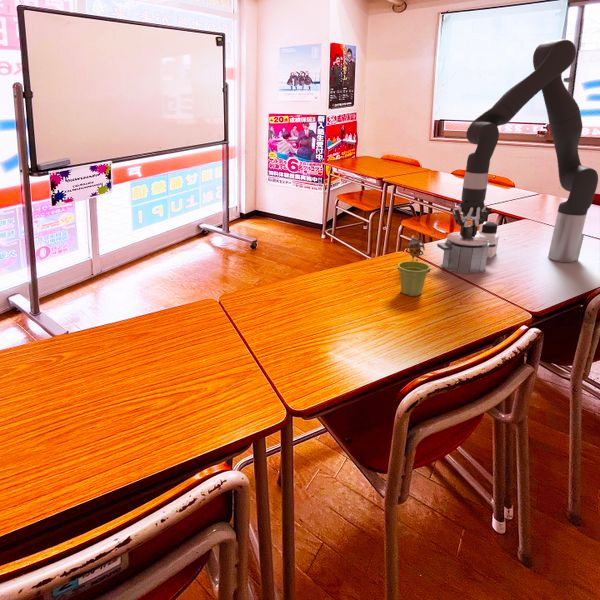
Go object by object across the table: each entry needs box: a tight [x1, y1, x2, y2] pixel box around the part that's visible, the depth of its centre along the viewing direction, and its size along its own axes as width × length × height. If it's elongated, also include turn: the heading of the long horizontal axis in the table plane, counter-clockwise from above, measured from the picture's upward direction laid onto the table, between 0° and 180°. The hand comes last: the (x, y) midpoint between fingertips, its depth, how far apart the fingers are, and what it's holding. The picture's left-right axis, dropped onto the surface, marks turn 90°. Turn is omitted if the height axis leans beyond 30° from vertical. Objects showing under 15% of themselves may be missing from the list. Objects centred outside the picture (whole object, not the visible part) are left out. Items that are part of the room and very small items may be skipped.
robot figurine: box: [404, 235, 431, 273], centre depth 172 cm, size 11×9×12 cm
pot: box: [436, 237, 496, 275], centre depth 176 cm, size 19×14×9 cm
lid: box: [446, 224, 489, 246], centre depth 173 cm, size 14×14×5 cm
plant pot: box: [397, 260, 431, 297], centre depth 154 cm, size 9×9×9 cm
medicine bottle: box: [478, 221, 500, 259], centre depth 188 cm, size 7×7×12 cm
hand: (467, 236), depth 173 cm, fingers closed on lid, 3 cm apart
